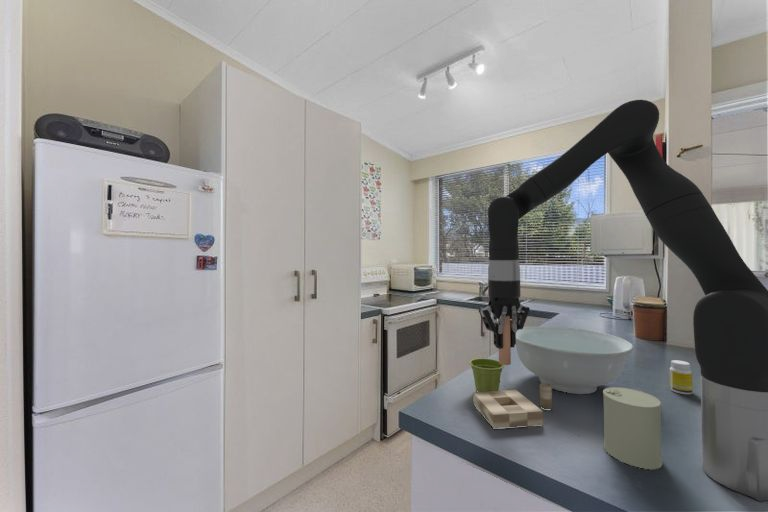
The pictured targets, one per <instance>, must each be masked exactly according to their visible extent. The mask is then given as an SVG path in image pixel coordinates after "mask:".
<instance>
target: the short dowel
mask: <svg viewBox="0 0 768 512" xmlns="http://www.w3.org/2000/svg"><path fill="white" fill-rule="evenodd" d="M552 392H553V389H552V386H551V385H550V384H547V383H541V382H540V383H539V408H540V407H542V408H544V409H552V410H553V393H552Z"/></svg>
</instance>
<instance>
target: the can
mask: <svg viewBox="0 0 768 512" xmlns="http://www.w3.org/2000/svg"><path fill="white" fill-rule="evenodd" d="M602 395H603V423H604V425H603V429H604V431H603V432H604V433H603V434H604V435H603V436H604V437H603V438H604V440H603V448H604V451H605V452H606V453H607V452H608V453H607V455H609V454H610V455H611V456H613V457H614V458H616V459H619V460H620V461H623V462H625V463H628V464H630V465H633V466H637V467H640V468H644V469H643V470H647V469H649V470H653V471H654V470H659V469H660V468H661V467H662V466H663V463H664V461H663V458H662V457H663V456H662V429H661V428H662V427H661V426H662V424H661V422H662V419H661V418H662V417H661V416H662V415H661V410H662V409H661V406H662V402H661V400H660V399H658V397H656V396H653V395H652V394H649V393H648V392H647V393H646V392H644V391H641V390H637V389H633V388H629V387H628V388H627V387H622V386H621V387H619V386H613V387H612V386H610V387H606V388H604V389H603V391H602ZM610 455H609V456H610ZM611 456H610V457H611ZM613 457H612V458H613ZM614 458H613V459H614ZM616 459H615V460H616ZM620 461H619V462H620ZM640 468H639V469H640Z"/></svg>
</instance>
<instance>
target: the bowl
mask: <svg viewBox="0 0 768 512" xmlns="http://www.w3.org/2000/svg"><path fill="white" fill-rule="evenodd" d="M515 349H516V354H517V356H518V358H519V361H520V363H521V364H522V365H523V366H524V367H525V368H526V369H527V370H528V371H529V372H531V373H532V374H534V375H535V376H538V379H539V380H538V381H539V382H540V383H547V384H550V385H551V386H552V390H554V389H555V391H558V392H561V391H562V393H566V392H567V393H568V394H573V395H587V394H593V393H595V392H596V391H597V389H598V387H600V386H605V385H608V384H609V383H612V382H614V381H615V380H616V379H618V378H619V377H620V375H621V374H622V372H623V371H624V368H625V365H626V361H627V357H628V355H630V354H631V353H632V352H633V350H634V346H633V344H632V343H631V342H629V341H628V340H626V339H624V338H623V337H622V338H621V337H619V336H615V335H612V334H608V333H604V332H599V331H595V330H589V329H581V328H576V327H575V328H574V327H562V326H525V327H523V329H519V330H517V332H516V344H515Z"/></svg>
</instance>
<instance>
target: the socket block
mask: <svg viewBox="0 0 768 512" xmlns="http://www.w3.org/2000/svg"><path fill="white" fill-rule="evenodd" d="M472 401H473V402H472V404H473V403H474V404H475V405H476V407H477V408H478V409H479V410H480V412H481V413H482V414H483V415H484V416H485V418H486V419H487V420H488V421H489V423H490V424H491V425H492V427H493V428H499V427H517V426H534V425H543V426H544V412H543V411H544V410H542V409H541V408H540V407H538V406H537V405H536V404H534V403H533V402H532V401H530V399H528V398H527V397H526V396H525V395H523V394H522V393H521V392H519V391H518V390H516V389H510V390H499V391H490V392H476V391H475V392H472Z"/></svg>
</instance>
